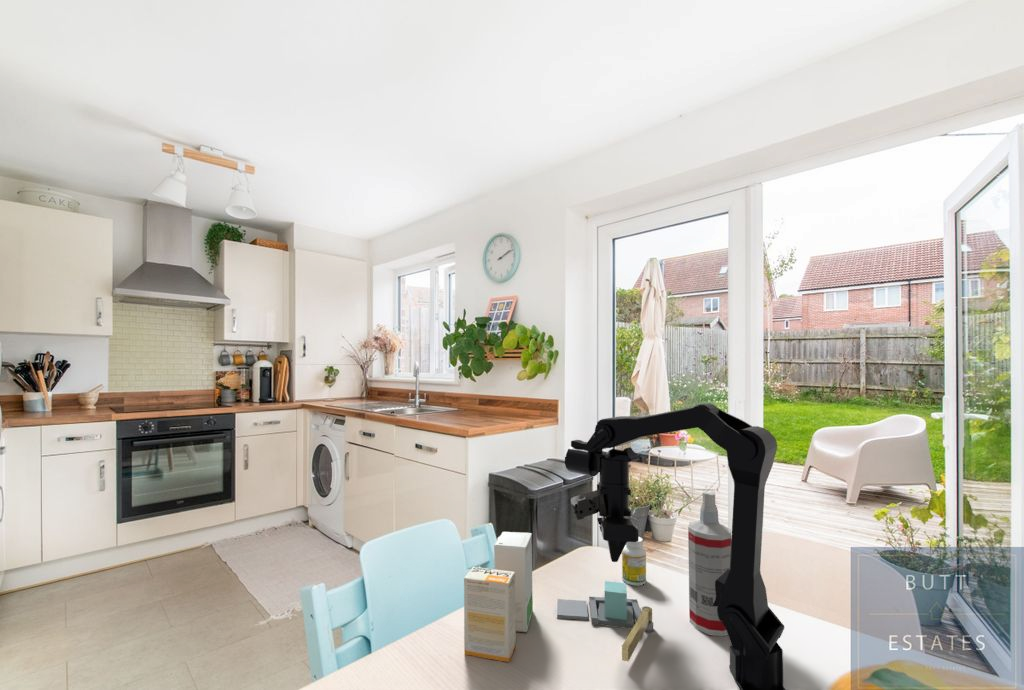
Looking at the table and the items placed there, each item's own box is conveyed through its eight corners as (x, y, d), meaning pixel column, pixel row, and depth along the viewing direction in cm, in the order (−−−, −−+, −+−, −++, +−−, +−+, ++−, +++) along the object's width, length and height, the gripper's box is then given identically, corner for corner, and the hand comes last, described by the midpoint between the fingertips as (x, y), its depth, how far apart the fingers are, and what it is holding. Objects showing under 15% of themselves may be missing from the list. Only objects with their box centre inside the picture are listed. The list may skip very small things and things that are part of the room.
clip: (643, 617, 86) (643, 605, 86) (653, 620, 85) (653, 608, 85) (619, 658, 74) (619, 645, 74) (630, 662, 73) (630, 648, 73)
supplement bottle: (645, 588, 100) (645, 544, 101) (620, 584, 102) (620, 541, 102) (646, 577, 105) (646, 535, 106) (623, 573, 107) (623, 532, 107)
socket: (645, 605, 93) (645, 600, 93) (654, 632, 84) (654, 625, 84) (589, 602, 94) (589, 596, 94) (591, 628, 85) (591, 621, 85)
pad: (586, 603, 93) (586, 600, 93) (588, 619, 87) (588, 616, 88) (557, 601, 94) (557, 599, 94) (557, 617, 88) (557, 614, 88)
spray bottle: (712, 640, 81) (710, 500, 82) (681, 619, 88) (679, 490, 89) (742, 629, 85) (739, 495, 86) (709, 609, 91) (707, 485, 92)
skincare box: (526, 634, 83) (526, 548, 84) (491, 629, 84) (492, 545, 85) (533, 609, 91) (533, 532, 92) (501, 606, 92) (502, 529, 93)
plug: (632, 611, 91) (632, 581, 91) (633, 630, 85) (633, 597, 85) (599, 607, 92) (599, 577, 93) (598, 625, 86) (598, 593, 86)
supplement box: (516, 646, 79) (516, 570, 80) (508, 663, 75) (509, 583, 75) (472, 638, 81) (473, 565, 82) (462, 655, 77) (463, 577, 77)
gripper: (571, 468, 99) (571, 540, 98) (575, 492, 81) (575, 581, 80) (622, 470, 98) (622, 542, 97) (638, 495, 80) (639, 584, 79)
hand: (614, 560), depth 88 cm, fingers closed
